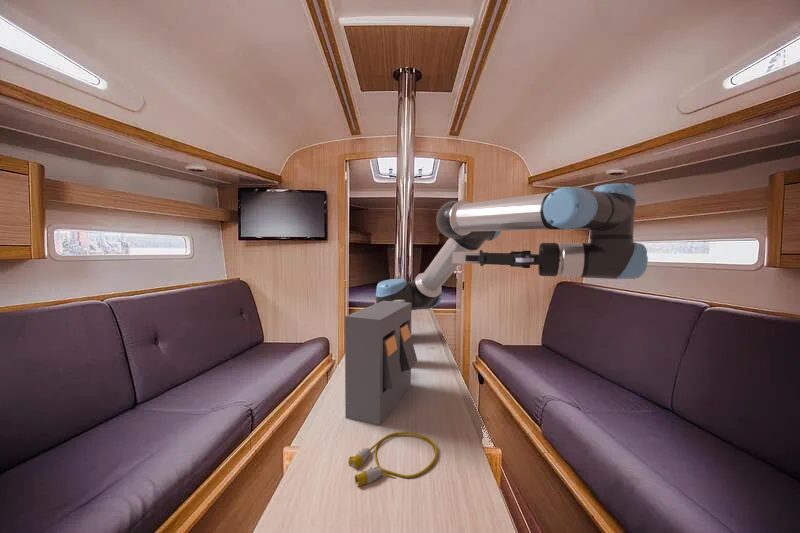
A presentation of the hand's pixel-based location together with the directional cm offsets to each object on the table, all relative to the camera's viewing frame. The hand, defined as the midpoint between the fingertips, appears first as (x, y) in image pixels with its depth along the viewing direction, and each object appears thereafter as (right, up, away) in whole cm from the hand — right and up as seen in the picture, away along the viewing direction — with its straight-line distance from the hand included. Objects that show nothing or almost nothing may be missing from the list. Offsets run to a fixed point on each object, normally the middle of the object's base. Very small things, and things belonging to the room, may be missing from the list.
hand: (452, 257), depth 77 cm
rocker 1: (-14, -27, -10) cm, 33 cm away
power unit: (-18, -34, -3) cm, 39 cm away
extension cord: (-14, -36, -23) cm, 45 cm away
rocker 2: (-11, -27, -1) cm, 29 cm away
